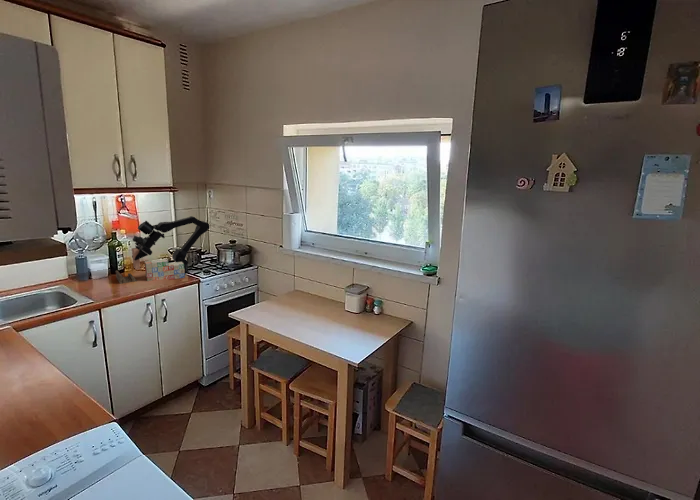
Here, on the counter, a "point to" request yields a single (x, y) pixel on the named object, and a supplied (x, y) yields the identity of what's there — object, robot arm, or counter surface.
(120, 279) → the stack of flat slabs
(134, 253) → the beige flat slab
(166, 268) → the stack of blocks
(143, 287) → the counter surface
